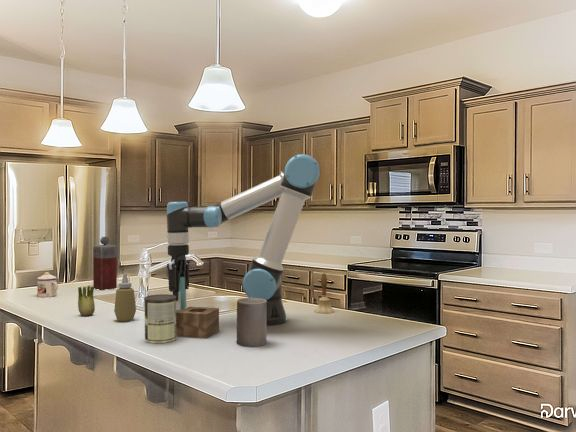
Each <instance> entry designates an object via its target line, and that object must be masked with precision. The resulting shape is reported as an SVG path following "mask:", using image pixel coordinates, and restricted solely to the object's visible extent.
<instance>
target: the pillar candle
mask: <svg viewBox="0 0 576 432" xmlns="http://www.w3.org/2000/svg"><path fill="white" fill-rule="evenodd" d="M266 317H267V301H266V300H265V299H261V298H252V296H251V298H249V297H245V298H244V297H243V298H239V299H237V300H236V342H235V343H236V344H237V345H239V346H242V347H249V348H251V347H253V348H254V347H259V346H263V345H265V344H266V343H267V325H266Z"/></svg>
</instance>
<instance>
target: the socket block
mask: <svg viewBox="0 0 576 432" xmlns="http://www.w3.org/2000/svg"><path fill="white" fill-rule="evenodd" d="M219 331H220V308H219V307H209V306H208V307H205V306H204V307H203V306H189V307H188V306H187V307H186V308H185V309H183V310H181V311H178V312H176V337H183V338H199V339H207V338H209V337H211V336H212V335H214V334H216V333H218V332H219Z"/></svg>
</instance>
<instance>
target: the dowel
mask: <svg viewBox="0 0 576 432" xmlns="http://www.w3.org/2000/svg"><path fill="white" fill-rule="evenodd" d="M179 292H180V297H181V310H183V309H186V308H185V277H180V283H179ZM181 310H176V312H178V311H181Z"/></svg>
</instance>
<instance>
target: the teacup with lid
mask: <svg viewBox="0 0 576 432" xmlns="http://www.w3.org/2000/svg"><path fill="white" fill-rule="evenodd" d="M36 281H37V284H36V285H37V288H36V289H37V294H36V295H37V297H38V298H50V297H51V298H52V297H57V294H58V293H57V291H58V288H59V285H58V283H57V281H58V277H57V276H55V275H52V274H50V272H49V271H48V272H47V271H46V272H44V274H42V275H41V276H38V277H37V278H36Z"/></svg>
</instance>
